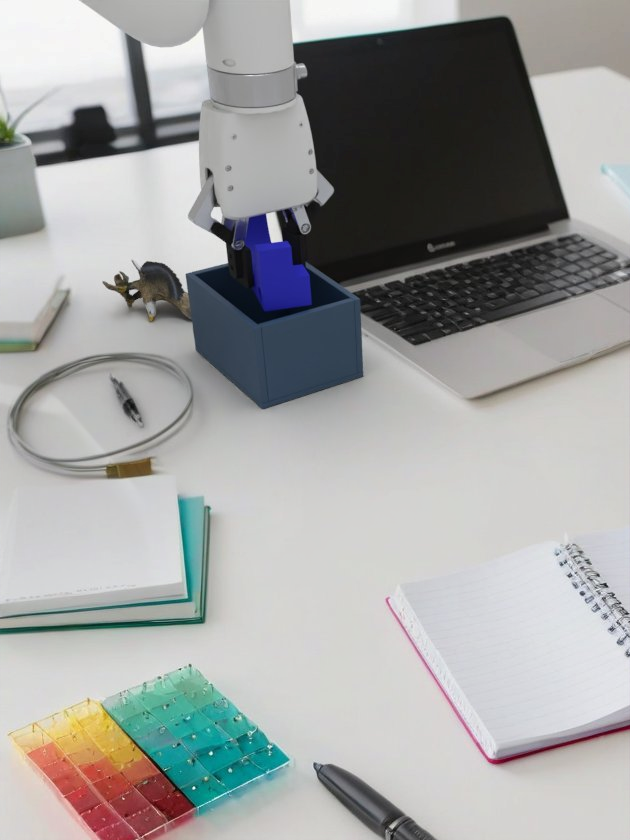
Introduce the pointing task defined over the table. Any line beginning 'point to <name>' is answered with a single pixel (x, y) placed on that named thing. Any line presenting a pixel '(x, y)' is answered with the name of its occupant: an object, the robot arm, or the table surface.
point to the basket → (276, 336)
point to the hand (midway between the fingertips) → (269, 274)
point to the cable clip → (275, 270)
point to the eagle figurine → (152, 288)
